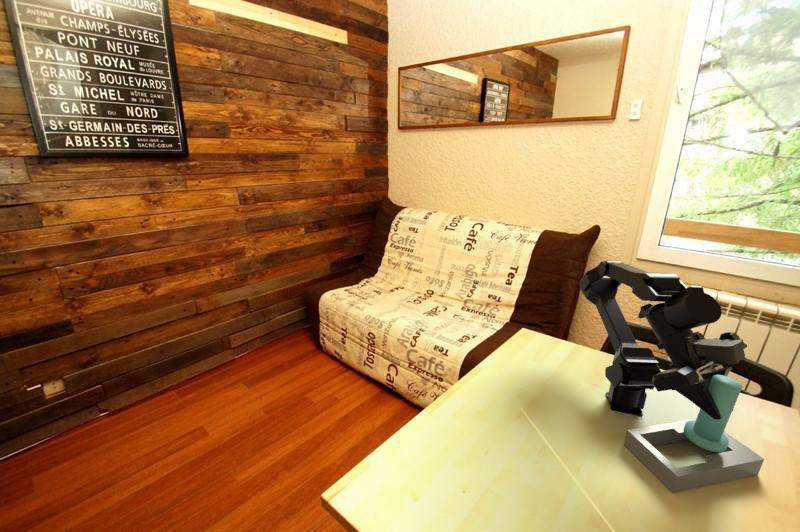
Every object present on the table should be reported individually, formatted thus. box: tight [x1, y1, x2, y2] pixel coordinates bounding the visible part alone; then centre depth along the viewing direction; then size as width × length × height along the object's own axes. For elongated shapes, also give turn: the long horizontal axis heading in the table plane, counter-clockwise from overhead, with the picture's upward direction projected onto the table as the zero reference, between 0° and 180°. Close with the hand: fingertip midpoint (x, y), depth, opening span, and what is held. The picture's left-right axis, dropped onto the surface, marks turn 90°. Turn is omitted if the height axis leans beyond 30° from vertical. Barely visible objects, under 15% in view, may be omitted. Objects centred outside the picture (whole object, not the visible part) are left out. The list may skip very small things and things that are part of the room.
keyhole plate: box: [623, 417, 765, 494], centre depth 68 cm, size 19×11×4 cm, turn 101°
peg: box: [684, 375, 743, 453], centre depth 65 cm, size 6×6×13 cm
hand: (724, 415), depth 64 cm, fingers closed on peg, 4 cm apart
